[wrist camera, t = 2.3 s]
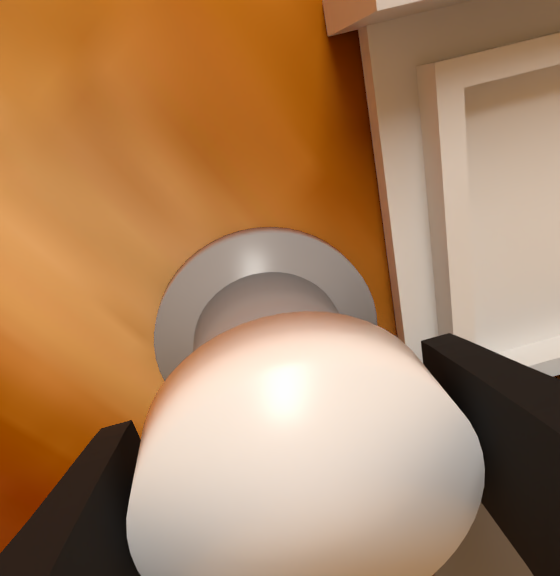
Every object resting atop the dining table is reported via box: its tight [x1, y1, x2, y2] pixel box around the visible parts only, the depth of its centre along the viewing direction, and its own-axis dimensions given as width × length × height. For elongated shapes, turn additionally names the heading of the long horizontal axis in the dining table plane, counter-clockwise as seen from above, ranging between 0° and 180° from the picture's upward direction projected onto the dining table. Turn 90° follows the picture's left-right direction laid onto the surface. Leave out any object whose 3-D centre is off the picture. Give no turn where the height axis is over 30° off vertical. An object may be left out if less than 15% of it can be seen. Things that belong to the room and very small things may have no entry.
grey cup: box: [154, 227, 377, 381], centre depth 11 cm, size 6×6×5 cm
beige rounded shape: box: [126, 311, 485, 576], centre depth 8 cm, size 6×6×2 cm
